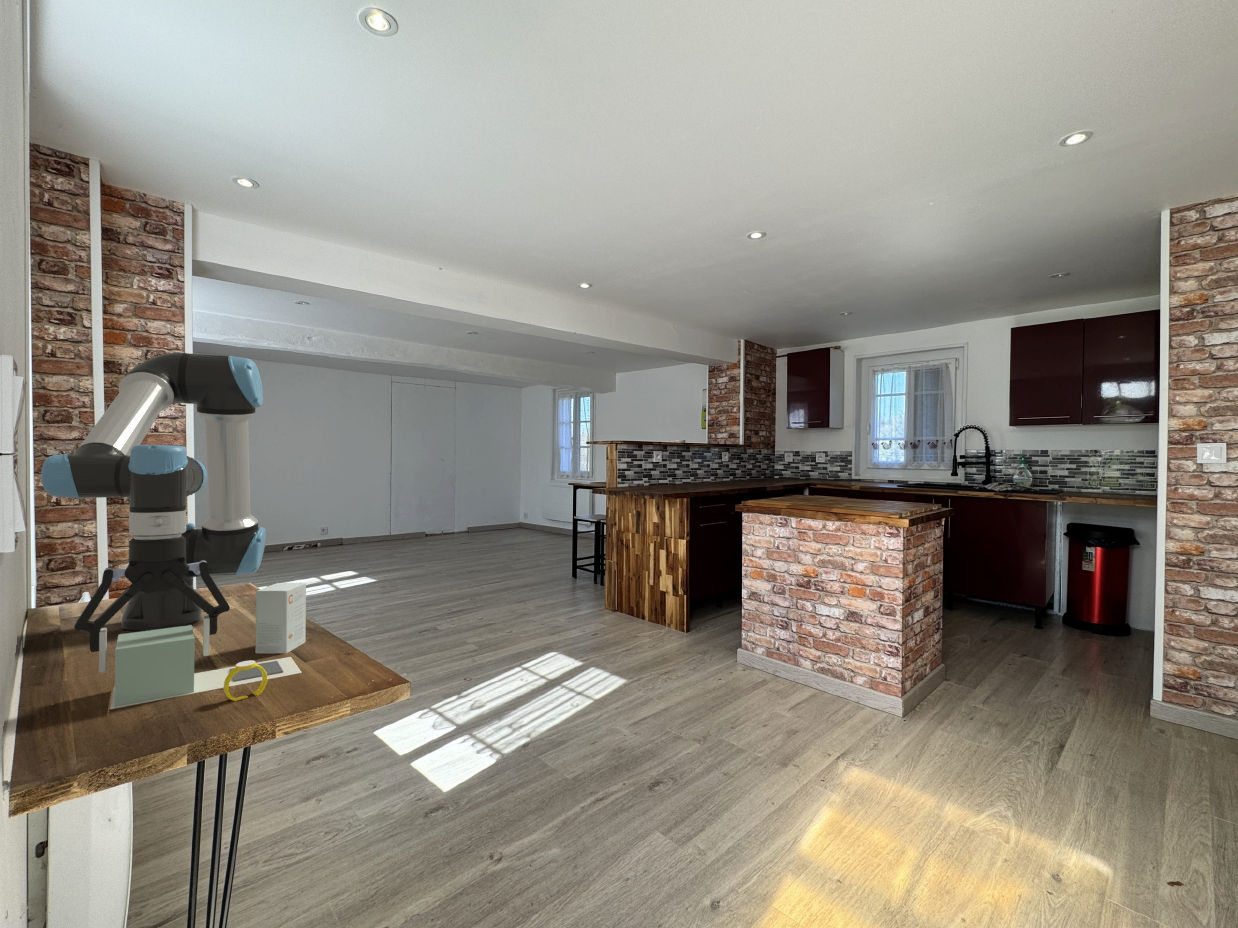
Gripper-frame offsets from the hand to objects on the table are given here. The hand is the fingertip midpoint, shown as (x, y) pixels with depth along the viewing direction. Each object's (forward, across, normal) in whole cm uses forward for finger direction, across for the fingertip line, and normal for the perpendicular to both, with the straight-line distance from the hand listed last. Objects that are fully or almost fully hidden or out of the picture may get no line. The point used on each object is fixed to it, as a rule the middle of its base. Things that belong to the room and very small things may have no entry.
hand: (156, 661), depth 98 cm
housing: (+5, 0, 0) cm, 5 cm away
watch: (+5, +11, -13) cm, 18 cm away
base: (+5, +8, 0) cm, 9 cm away
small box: (+5, +20, +13) cm, 25 cm away
